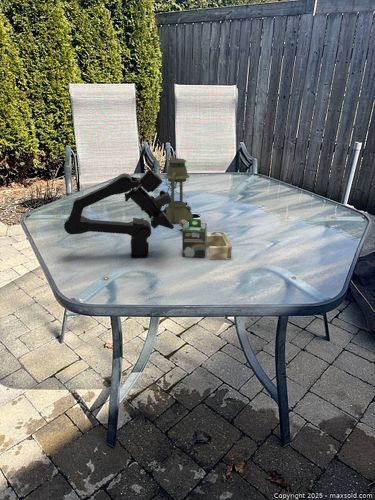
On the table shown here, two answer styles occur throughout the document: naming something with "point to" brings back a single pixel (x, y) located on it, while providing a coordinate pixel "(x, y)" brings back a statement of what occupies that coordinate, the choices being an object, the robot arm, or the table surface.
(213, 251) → the wooden square frame
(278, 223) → the table surface
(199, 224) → the chalk box
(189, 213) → the lantern
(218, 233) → the wheel
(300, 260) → the table surface
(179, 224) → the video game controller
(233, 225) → the table surface
